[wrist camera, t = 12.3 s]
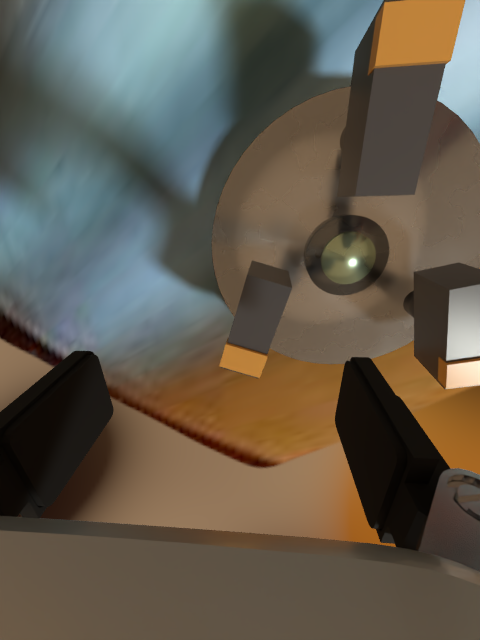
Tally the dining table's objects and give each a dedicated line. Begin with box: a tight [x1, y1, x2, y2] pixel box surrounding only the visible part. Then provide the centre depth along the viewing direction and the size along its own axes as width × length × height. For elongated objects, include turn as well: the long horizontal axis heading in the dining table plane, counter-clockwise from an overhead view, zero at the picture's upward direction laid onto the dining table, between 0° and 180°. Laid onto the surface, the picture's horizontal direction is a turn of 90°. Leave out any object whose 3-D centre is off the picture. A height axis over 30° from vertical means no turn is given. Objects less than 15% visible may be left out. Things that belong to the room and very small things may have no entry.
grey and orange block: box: [403, 263, 480, 389], centre depth 16 cm, size 6×2×6 cm, turn 15°
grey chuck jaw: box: [220, 260, 292, 378], centre depth 17 cm, size 6×2×6 cm, turn 165°
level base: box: [212, 86, 480, 364], centre depth 18 cm, size 18×18×4 cm
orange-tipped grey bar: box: [337, 0, 465, 197], centre depth 12 cm, size 6×2×6 cm, turn 1°
